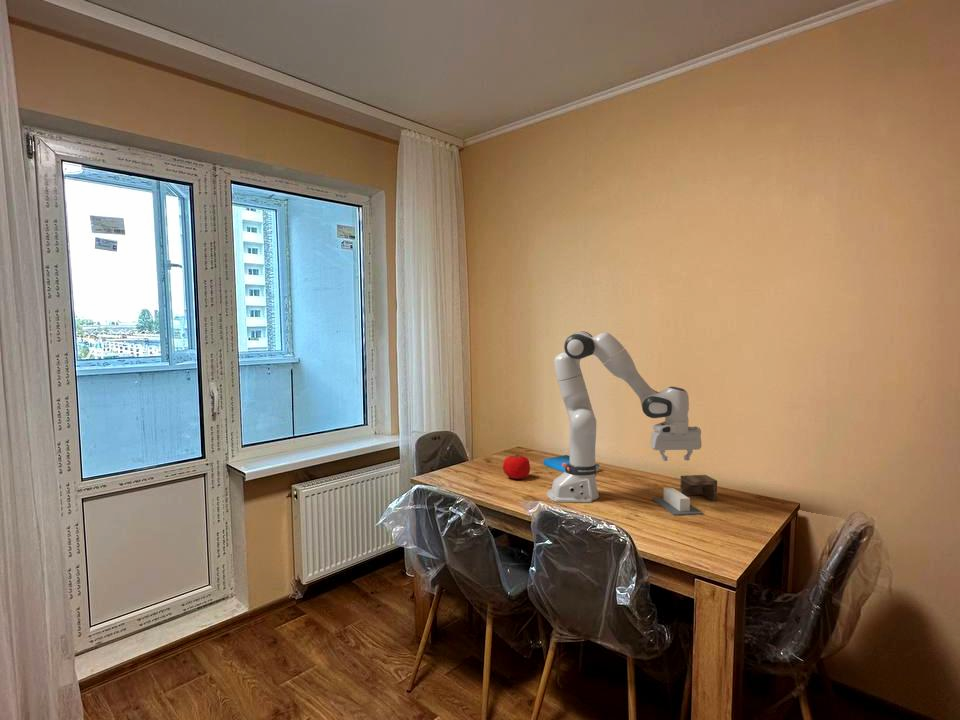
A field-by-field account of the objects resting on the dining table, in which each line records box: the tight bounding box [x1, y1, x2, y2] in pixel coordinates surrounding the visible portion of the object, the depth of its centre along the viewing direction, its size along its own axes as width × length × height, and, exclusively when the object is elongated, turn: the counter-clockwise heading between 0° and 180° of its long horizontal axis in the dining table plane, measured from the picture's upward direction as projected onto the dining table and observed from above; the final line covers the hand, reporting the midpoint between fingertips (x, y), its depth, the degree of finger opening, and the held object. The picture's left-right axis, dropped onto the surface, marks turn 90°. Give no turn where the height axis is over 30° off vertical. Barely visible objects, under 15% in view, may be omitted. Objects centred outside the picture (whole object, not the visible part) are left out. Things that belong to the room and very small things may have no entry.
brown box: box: [679, 474, 718, 501], centre depth 214 cm, size 12×9×8 cm
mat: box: [651, 497, 704, 516], centre depth 203 cm, size 12×19×1 cm, turn 6°
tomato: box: [502, 454, 531, 480], centre depth 245 cm, size 12×13×12 cm
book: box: [542, 454, 600, 473], centre depth 262 cm, size 17×4×25 cm
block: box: [663, 487, 691, 511], centre depth 203 cm, size 4×14×5 cm, turn 6°
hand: (675, 460), depth 203 cm, fingers open, 8 cm apart
